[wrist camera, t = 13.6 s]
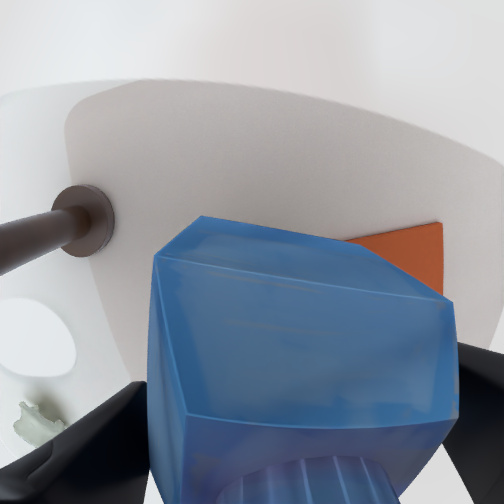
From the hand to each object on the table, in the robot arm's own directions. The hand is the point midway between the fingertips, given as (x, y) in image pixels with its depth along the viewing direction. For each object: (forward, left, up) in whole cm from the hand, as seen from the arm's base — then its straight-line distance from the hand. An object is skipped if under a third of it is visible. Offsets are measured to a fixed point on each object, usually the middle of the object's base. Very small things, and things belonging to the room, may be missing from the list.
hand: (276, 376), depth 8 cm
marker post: (+5, +10, -11) cm, 16 cm away
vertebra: (-12, +23, -7) cm, 27 cm away
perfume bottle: (0, 0, -4) cm, 5 cm away
